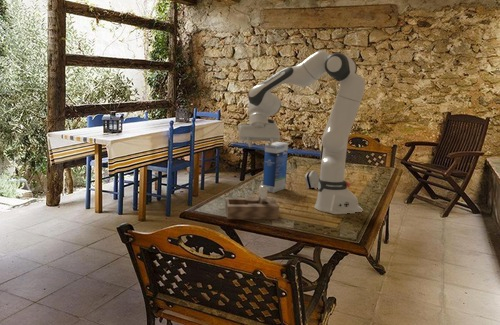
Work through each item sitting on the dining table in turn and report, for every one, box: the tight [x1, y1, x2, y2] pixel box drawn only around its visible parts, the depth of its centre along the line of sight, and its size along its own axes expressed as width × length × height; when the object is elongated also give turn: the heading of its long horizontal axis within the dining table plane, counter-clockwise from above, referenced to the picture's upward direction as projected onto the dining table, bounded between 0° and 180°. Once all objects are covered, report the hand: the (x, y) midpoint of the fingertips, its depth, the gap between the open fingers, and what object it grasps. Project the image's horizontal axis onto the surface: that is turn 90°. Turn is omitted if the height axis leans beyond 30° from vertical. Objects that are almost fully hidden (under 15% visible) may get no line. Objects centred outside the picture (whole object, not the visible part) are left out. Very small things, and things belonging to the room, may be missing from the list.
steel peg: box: [258, 184, 268, 204], centre depth 189 cm, size 6×6×12 cm
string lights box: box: [262, 141, 289, 194], centre depth 234 cm, size 13×8×26 cm, turn 146°
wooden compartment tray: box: [224, 197, 280, 220], centre depth 189 cm, size 22×14×6 cm, turn 97°
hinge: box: [304, 170, 320, 190], centre depth 248 cm, size 17×5×10 cm, turn 155°
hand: (260, 146), depth 205 cm, fingers open, 8 cm apart
